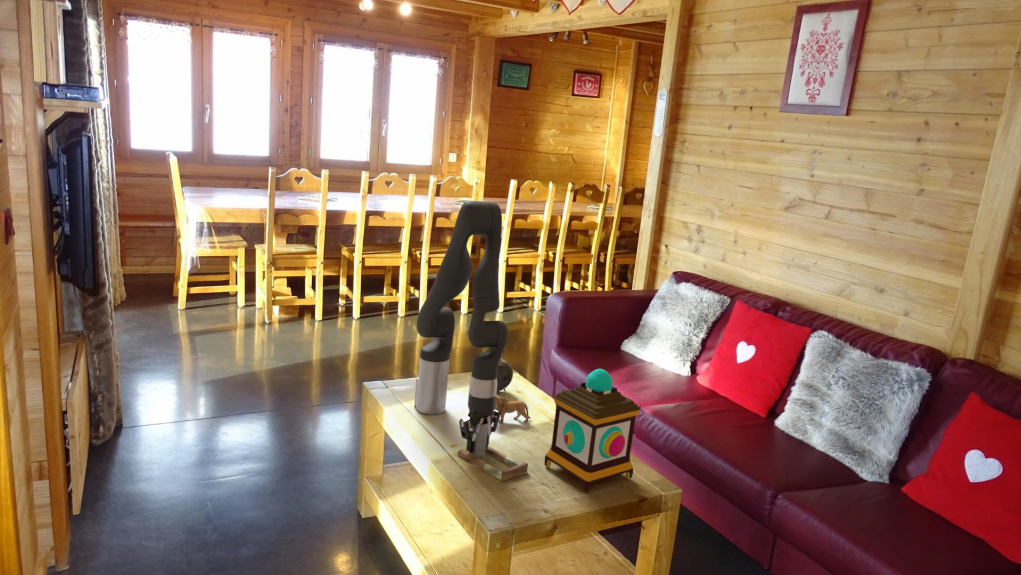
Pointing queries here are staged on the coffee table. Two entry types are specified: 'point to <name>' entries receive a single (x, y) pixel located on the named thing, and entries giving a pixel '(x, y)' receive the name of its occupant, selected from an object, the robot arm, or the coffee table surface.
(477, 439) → the grey hollow cylinder
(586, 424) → the decorative lantern
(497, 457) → the guide channel
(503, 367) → the alarm clock
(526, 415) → the lion figurine
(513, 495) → the coffee table surface
